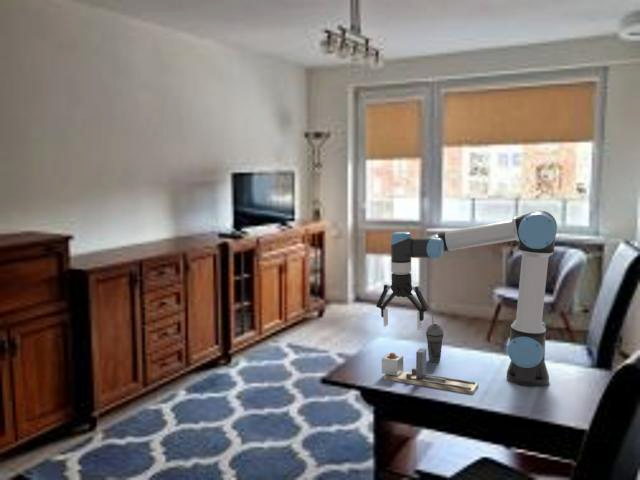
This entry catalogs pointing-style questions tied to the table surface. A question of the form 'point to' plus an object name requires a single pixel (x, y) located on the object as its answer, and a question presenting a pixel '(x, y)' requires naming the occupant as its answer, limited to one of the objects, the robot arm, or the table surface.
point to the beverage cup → (434, 341)
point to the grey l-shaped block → (423, 366)
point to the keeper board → (434, 381)
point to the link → (392, 365)
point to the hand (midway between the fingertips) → (402, 327)
